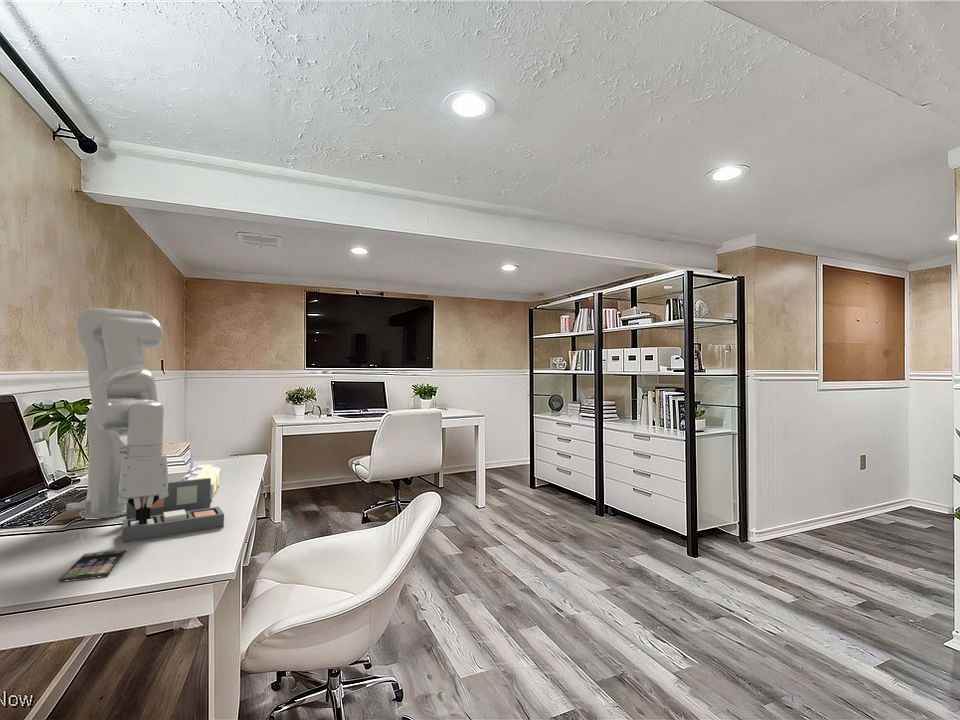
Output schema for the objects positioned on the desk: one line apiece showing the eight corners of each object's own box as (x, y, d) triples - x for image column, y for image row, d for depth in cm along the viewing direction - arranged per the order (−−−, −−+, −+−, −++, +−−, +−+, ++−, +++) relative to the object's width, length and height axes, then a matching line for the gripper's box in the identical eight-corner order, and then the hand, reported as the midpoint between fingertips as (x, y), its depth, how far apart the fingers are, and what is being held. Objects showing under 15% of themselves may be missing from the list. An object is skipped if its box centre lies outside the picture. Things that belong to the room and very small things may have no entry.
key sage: (130, 537, 120) (131, 526, 120) (130, 531, 124) (130, 521, 124) (154, 533, 123) (154, 523, 123) (152, 528, 127) (153, 518, 127)
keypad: (122, 543, 118) (124, 502, 118) (121, 522, 133) (122, 486, 133) (223, 526, 131) (224, 490, 131) (212, 509, 146) (213, 476, 146)
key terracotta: (195, 526, 129) (196, 517, 129) (193, 521, 132) (193, 512, 132) (216, 523, 132) (216, 514, 132) (213, 518, 135) (213, 509, 135)
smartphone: (126, 552, 114) (126, 547, 114) (108, 578, 100) (108, 572, 100) (84, 557, 110) (84, 551, 110) (58, 584, 97) (58, 578, 97)
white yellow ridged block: (187, 487, 171) (188, 450, 172) (220, 485, 175) (221, 449, 176) (173, 507, 148) (175, 464, 148) (211, 504, 152) (213, 462, 152)
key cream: (164, 526, 124) (164, 517, 124) (162, 521, 128) (163, 512, 128) (186, 523, 127) (186, 513, 127) (184, 518, 131) (184, 509, 131)
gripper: (108, 455, 116) (105, 532, 116) (180, 450, 125) (178, 521, 125) (108, 451, 122) (105, 524, 122) (177, 446, 131) (175, 514, 131)
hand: (142, 522), depth 123 cm, fingers closed
